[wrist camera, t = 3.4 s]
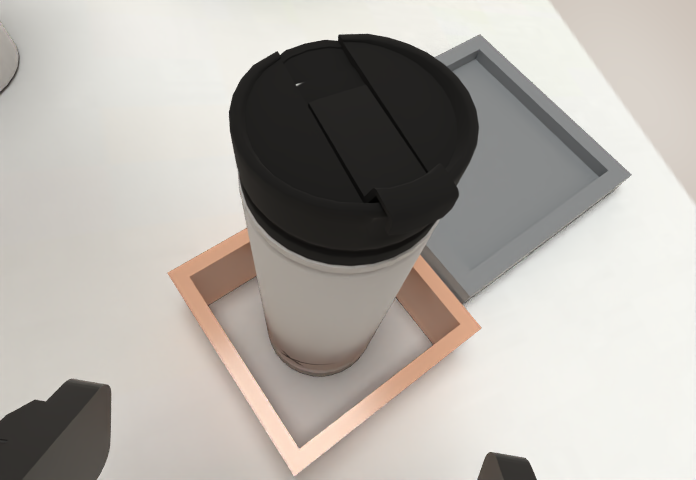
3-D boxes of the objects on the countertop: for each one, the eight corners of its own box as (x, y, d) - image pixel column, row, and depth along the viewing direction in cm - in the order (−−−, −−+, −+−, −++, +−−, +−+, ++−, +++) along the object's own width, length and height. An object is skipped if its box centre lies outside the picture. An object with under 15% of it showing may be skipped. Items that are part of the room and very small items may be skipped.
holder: (187, 303, 29) (167, 273, 24) (341, 210, 33) (349, 169, 28) (294, 475, 26) (294, 476, 21) (453, 349, 29) (481, 328, 25)
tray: (316, 135, 35) (317, 117, 34) (471, 53, 41) (479, 34, 39) (459, 306, 31) (470, 296, 29) (614, 189, 36) (631, 174, 34)
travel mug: (295, 401, 27) (293, 266, 9) (252, 299, 29) (185, 33, 12) (391, 354, 29) (548, 164, 11) (343, 262, 31) (408, -21, 13)
